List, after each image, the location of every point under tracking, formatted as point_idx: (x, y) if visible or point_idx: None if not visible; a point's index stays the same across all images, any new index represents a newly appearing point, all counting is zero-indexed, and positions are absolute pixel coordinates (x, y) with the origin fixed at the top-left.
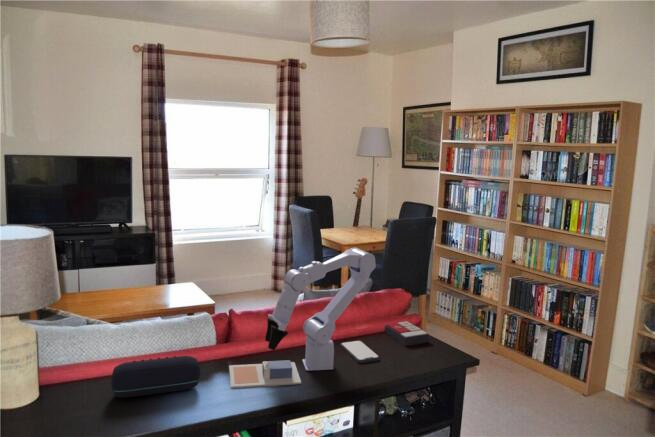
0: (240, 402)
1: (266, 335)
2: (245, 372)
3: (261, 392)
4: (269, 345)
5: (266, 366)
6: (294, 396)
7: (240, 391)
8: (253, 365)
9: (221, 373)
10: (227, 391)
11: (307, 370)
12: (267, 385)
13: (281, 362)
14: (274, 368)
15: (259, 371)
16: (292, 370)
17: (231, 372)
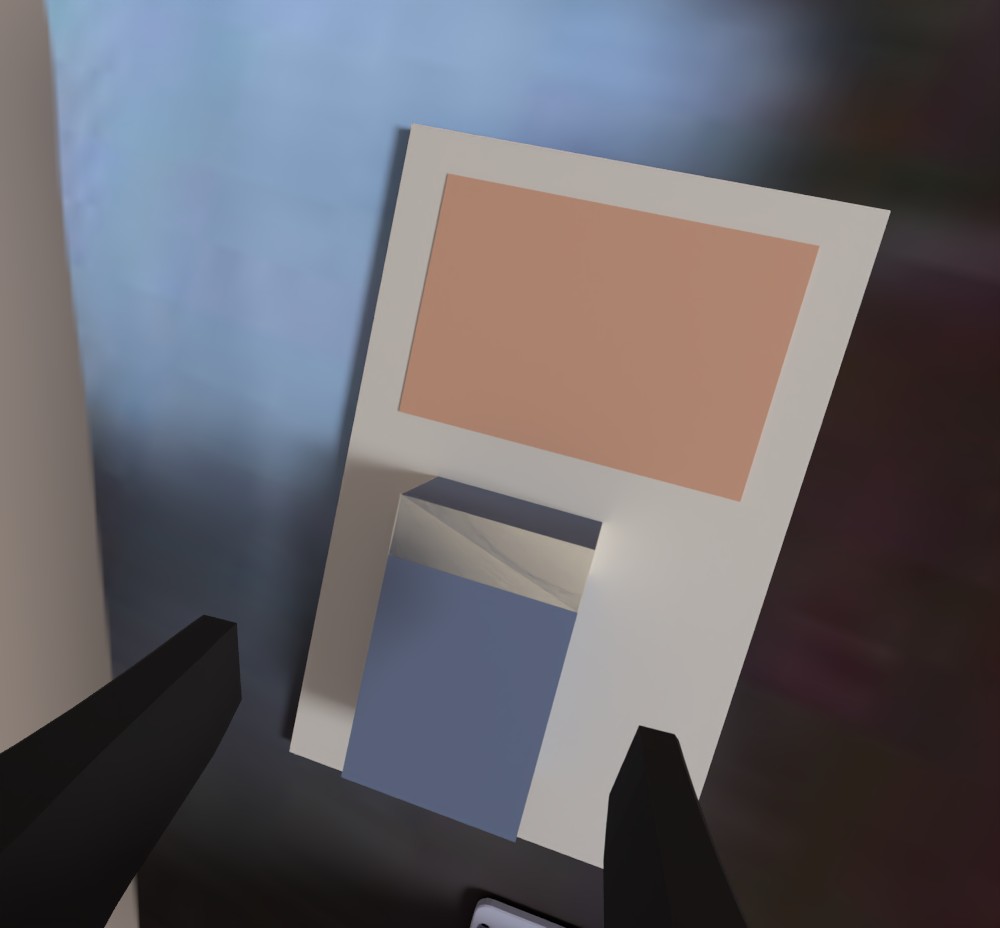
0: (177, 164)
1: (652, 817)
2: (636, 345)
3: (271, 384)
4: (156, 652)
5: (460, 544)
6: (147, 605)
7: (340, 209)
8: (767, 481)
9: (763, 95)
10: (376, 87)
11: (476, 906)
12: (348, 471)
13: (492, 735)
14: (386, 605)
15: (606, 492)
16: None
17: (701, 197)
